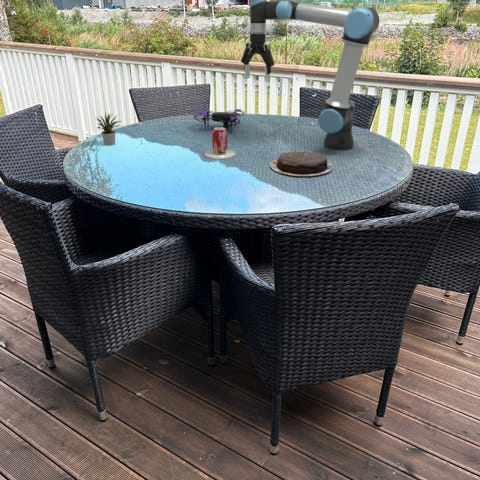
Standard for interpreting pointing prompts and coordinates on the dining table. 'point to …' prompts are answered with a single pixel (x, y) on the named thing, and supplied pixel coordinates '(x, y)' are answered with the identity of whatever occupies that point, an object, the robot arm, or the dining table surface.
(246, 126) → the dining table surface
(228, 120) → the drone
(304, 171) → the chocolate cake
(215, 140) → the soda can
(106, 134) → the house plant
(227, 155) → the coaster
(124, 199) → the dining table surface
